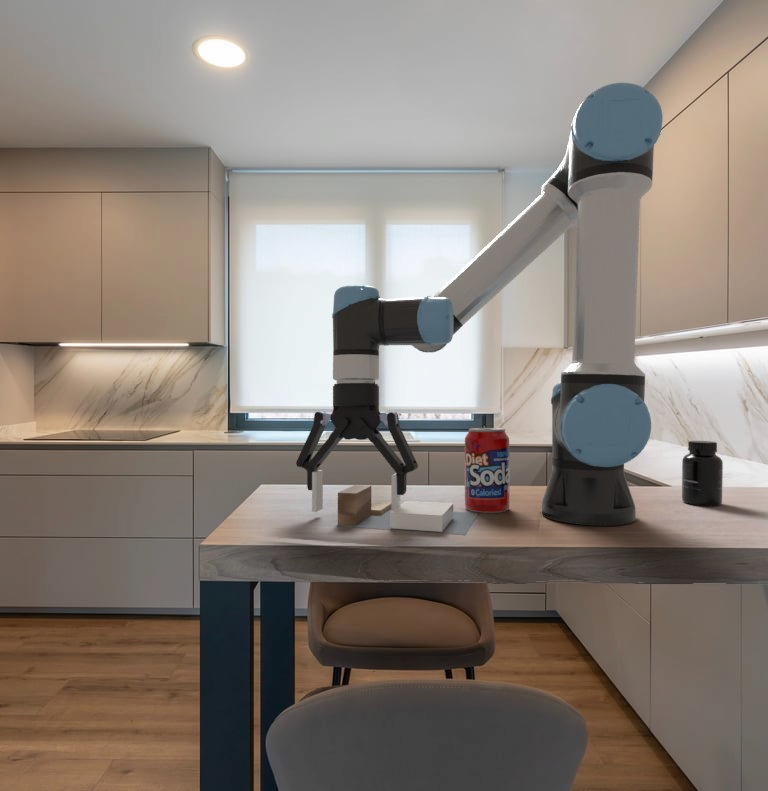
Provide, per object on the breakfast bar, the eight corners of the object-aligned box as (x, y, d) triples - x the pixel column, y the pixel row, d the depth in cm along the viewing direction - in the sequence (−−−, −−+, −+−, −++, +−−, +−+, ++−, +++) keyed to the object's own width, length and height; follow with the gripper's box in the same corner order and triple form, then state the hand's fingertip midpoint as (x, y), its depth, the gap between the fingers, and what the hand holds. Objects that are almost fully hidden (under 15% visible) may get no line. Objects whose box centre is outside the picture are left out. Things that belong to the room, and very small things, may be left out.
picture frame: (453, 503, 92) (442, 515, 83) (453, 518, 92) (442, 532, 83) (406, 500, 95) (390, 512, 85) (406, 515, 95) (390, 529, 85)
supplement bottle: (680, 504, 107) (680, 441, 107) (683, 499, 113) (683, 439, 113) (722, 508, 104) (722, 443, 104) (723, 502, 110) (722, 440, 110)
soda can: (496, 506, 105) (496, 427, 105) (517, 515, 98) (517, 429, 98) (457, 509, 103) (457, 427, 103) (476, 518, 96) (476, 430, 96)
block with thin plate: (391, 507, 102) (391, 479, 102) (364, 526, 87) (364, 494, 87) (360, 505, 104) (360, 478, 104) (328, 523, 89) (328, 492, 89)
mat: (478, 516, 97) (478, 512, 97) (465, 538, 82) (465, 534, 82) (368, 509, 103) (368, 506, 103) (336, 529, 87) (336, 525, 87)
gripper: (435, 382, 92) (435, 512, 92) (296, 383, 99) (296, 504, 99) (425, 381, 85) (425, 522, 84) (276, 382, 92) (276, 512, 92)
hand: (355, 512), depth 92 cm, fingers open, 13 cm apart
